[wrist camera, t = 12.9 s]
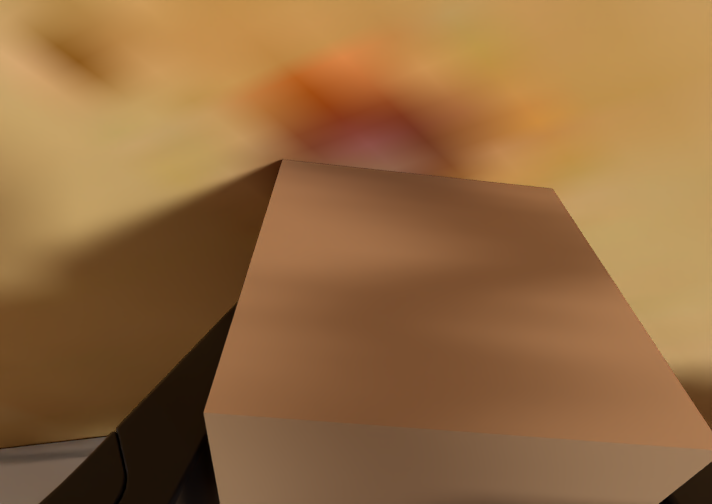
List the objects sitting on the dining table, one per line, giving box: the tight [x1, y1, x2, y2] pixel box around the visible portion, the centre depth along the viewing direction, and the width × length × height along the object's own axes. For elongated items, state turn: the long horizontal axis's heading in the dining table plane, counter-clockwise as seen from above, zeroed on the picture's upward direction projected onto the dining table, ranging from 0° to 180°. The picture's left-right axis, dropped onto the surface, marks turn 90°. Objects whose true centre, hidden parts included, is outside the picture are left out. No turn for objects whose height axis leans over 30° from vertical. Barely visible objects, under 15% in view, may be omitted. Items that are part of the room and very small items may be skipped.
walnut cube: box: [204, 160, 712, 504], centre depth 8 cm, size 5×5×5 cm
